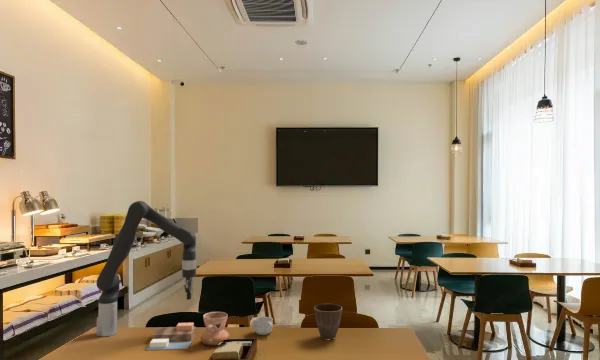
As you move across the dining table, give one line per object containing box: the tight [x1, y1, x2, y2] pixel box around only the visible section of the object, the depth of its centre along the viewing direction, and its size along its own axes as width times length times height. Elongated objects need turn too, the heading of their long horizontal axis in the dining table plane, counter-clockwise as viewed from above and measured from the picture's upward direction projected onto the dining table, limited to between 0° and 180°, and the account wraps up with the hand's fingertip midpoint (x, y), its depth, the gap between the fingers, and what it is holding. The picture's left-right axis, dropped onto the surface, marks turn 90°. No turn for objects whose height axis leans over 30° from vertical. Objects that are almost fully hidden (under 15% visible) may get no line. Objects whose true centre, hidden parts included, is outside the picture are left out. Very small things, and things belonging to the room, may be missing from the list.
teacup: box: [252, 316, 274, 336], centre depth 220 cm, size 14×11×8 cm
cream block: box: [149, 338, 169, 348], centre depth 201 cm, size 8×5×2 cm, turn 94°
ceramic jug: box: [200, 311, 230, 346], centre depth 207 cm, size 18×14×14 cm
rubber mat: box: [145, 341, 192, 351], centre depth 202 cm, size 20×10×1 cm, turn 94°
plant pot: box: [313, 303, 343, 340], centre depth 214 cm, size 15×15×16 cm
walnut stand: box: [151, 326, 197, 343], centre depth 213 cm, size 20×12×4 cm, turn 94°
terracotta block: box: [175, 322, 195, 331], centre depth 216 cm, size 8×5×2 cm, turn 94°
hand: (188, 299), depth 225 cm, fingers closed
